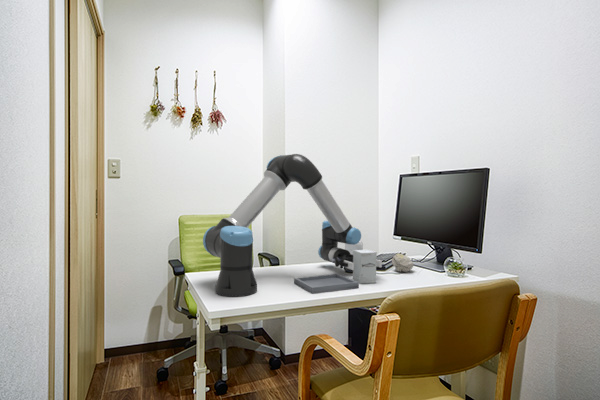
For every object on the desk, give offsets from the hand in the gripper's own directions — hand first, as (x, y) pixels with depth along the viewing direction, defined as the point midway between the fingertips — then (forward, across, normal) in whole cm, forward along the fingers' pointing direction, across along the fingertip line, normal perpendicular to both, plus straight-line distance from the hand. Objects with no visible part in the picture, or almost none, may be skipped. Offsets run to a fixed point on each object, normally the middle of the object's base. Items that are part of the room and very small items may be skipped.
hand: (367, 265), depth 153 cm
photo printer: (-38, -18, -7) cm, 42 cm away
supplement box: (-2, 0, -7) cm, 7 cm away
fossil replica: (-11, -28, -7) cm, 31 cm away
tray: (-2, +18, -7) cm, 20 cm away
